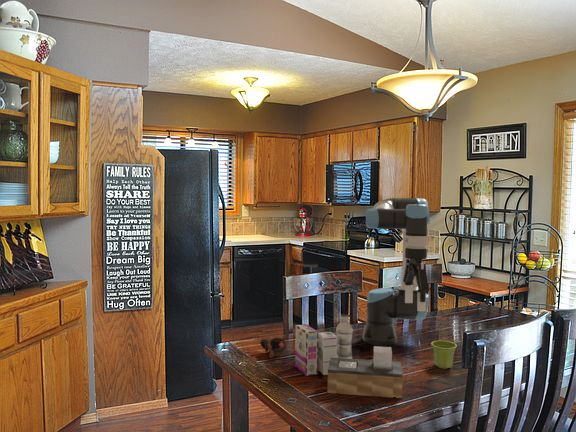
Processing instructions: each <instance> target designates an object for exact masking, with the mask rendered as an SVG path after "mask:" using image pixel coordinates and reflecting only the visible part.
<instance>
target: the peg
mask: <svg viewBox="0 0 576 432" xmlns="http://www.w3.org/2000/svg"><path fill="white" fill-rule="evenodd" d="M372 360H373V370H385V371H392V361H393V349H392V347H391V346H379V345H373V359H372Z"/></svg>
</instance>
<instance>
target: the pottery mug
mask: <svg viewBox="0 0 576 432" xmlns="http://www.w3.org/2000/svg"><path fill="white" fill-rule="evenodd" d="M281 343H283V346H281V345H280V344H281ZM260 346H261V347H262V348H263V350H264V351H265V352H266V353H267V352H268V351H269V353H268V354H269V355H268V356H269V358H270V359H274V357H277V356H282V355H283V354H285V352H286V351H287V350H288V345H287V343H286V340H285V339H284V338H282V337H280V336H274V337H271V338H269V339H267V338H262V339H261V340H260Z"/></svg>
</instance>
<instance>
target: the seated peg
mask: <svg viewBox="0 0 576 432" xmlns="http://www.w3.org/2000/svg"><path fill="white" fill-rule="evenodd" d="M338 368H354V369H357V362H347V361H339V367H338Z"/></svg>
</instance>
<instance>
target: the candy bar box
mask: <svg viewBox="0 0 576 432" xmlns="http://www.w3.org/2000/svg"><path fill="white" fill-rule="evenodd" d="M294 326H295V333H294V338H295V342H294V344H295V345H294V346H295V347H294V367H295V368H296V369H297V370H299V371H300V372H301V373H302V374H303V375H304V376H305V377H309V376H316V375H318V333H319V331H318V330H316V329H315V328H313V327H311V326H310V325H309V324H306V323H303V324H296V325H294Z"/></svg>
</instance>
